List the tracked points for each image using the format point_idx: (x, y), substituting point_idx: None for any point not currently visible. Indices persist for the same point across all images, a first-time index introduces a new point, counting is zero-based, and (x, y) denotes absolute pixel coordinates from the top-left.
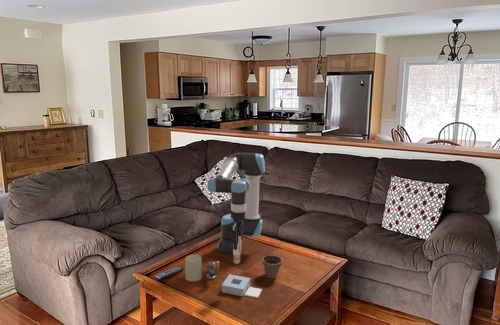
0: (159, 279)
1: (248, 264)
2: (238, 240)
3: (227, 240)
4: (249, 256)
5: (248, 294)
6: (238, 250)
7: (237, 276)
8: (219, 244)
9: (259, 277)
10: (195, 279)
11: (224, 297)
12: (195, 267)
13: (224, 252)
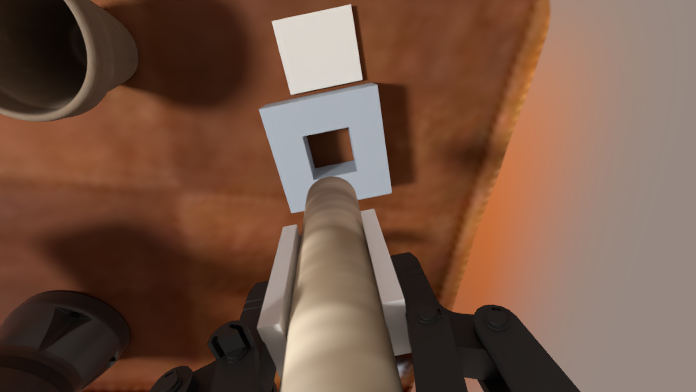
0: (410, 361)
1: (113, 204)
2: (381, 346)
3: (63, 374)
4: (46, 237)
5: (353, 63)
6: (367, 236)
7: (286, 173)
8: (102, 371)
9: (174, 97)
10: None
11: (414, 149)
12: None
13: (123, 326)
